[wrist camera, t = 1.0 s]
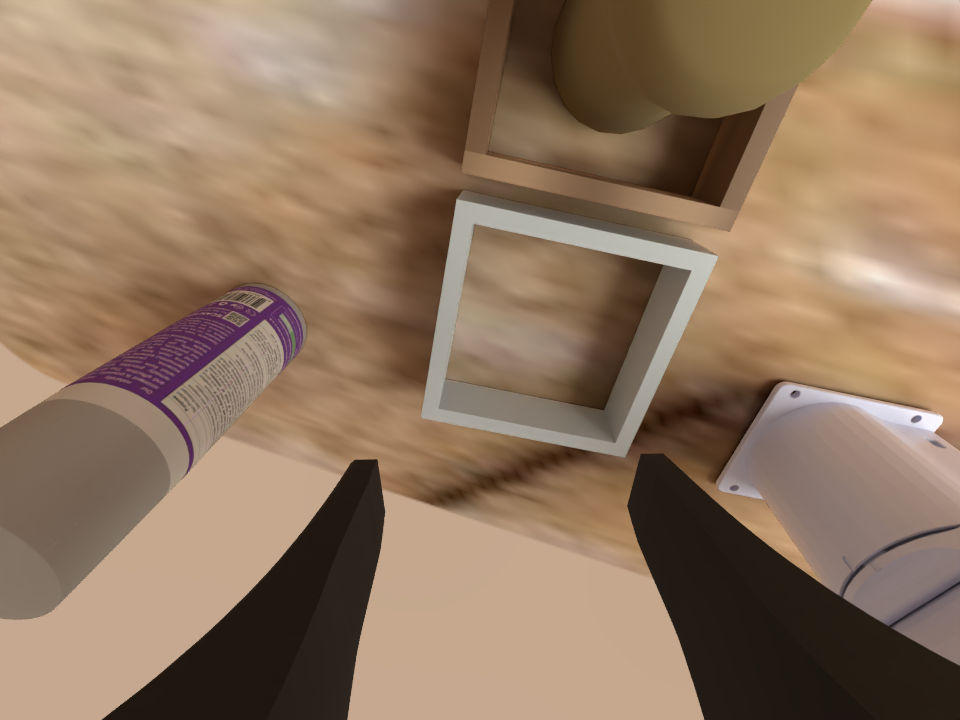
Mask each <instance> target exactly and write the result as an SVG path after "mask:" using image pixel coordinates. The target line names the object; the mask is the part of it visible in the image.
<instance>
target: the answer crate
mask: <svg viewBox="0 0 960 720" xmlns="http://www.w3.org/2000/svg"><path fill="white" fill-rule="evenodd" d="M474 224H477V225H482V226H486V227H491V228H496V229H500V230H505V231H510V232H514V233H519V234H524V235H528V236H533V237H537V238H542V239H547V240H551V241H556V242H561V243H565V244H570V245H575V246H579V247H584V248H589V249H593V250H598V251H602V252H607V253H612V254H616V255H621V256H626V257H630V258H635V259H640V260H644V261H649V262H654V263H658V264H663V267H662V270H661V272H660V275H659V277H658V279H657V282H656V284H655V287H654V289H653V292H652V294H651V297H650V299H649V302H648V304H647V306H646V309H645V311H644V314H643V316H642V319H641V321H640V324H639V326H638V328H637V331H636V333H635V336H634V338H633V341H632V343H631V346H630V348H629V351H628V353H627V355H626V358H625V360H624V363H623V365H622V368H621V370H620V373H619V375H618V377H617V380H616V382H615V385H614V387H613V390H612V392H611V395H610V397H609V400H608V402H607V404H606V407H605V409H604V410H600V409H595V408H590V407H585V406H580V405H575V404H570V403H565V402H560V401H554V400H549V399H544V398H539V397H534V396H529V395H524V394H519V393H514V392H509V391H504V390H499V389H494V388H489V387H484V386H479V385H474V384H469V383H464V382H459V381H454V380H449V379H446V374H447V368H448V363H449V358H450V352H451V347H452V342H453V336H454V331H455V326H456V320H457V315H458V310H459V304H460V299H461V294H462V288H463V283H464V278H465V272H466V267H467V262H468V256H469V251H470V246H471V240H472V235H473V230H474ZM717 259H718V255H716V254H714V253H713V252H711V251H709V250H708V249H706V248H704V247H703V246H701V245H699V244H698V243H696V242H694V241H693V240H690V239H686V238H681V237H676V236H672V235H667V234H663V233H658V232H654V231H649V230H644V229H640V228H635V227H631V226H626V225H622V224H617V223H612V222H608V221H603V220H599V219H594V218H590V217H585V216H580V215H576V214H571V213H567V212H562V211H558V210H553V209H548V208H544V207H539V206H535V205H530V204H526V203H521V202H516V201H512V200H507V199H503V198H498V197H494V196H489V195H484V194H480V193H475V192H471V191H466V190H463V191H462V192H461V194H460V195H459V197H458V198H457V200H456V206H455V212H454V219H453V225H452V231H451V237H450V243H449V249H448V255H447V261H446V267H445V274H444V280H443V286H442V292H441V298H440V304H439V310H438V316H437V322H436V329H435V335H434V341H433V347H432V353H431V359H430V365H429V371H428V377H427V384H426V390H425V396H424V402H423V408H422V414H421V418H423V419H428V420H433V421H438V422H444V423H449V424H454V425H459V426H464V427H469V428H474V429H480V430H485V431H490V432H495V433H500V434H505V435H511V436H516V437H521V438H526V439H531V440H536V441H542V442H547V443H552V444H557V445H562V446H567V447H573V448H578V449H583V450H588V451H593V452H598V453H604V454H609V455H614V456H619V457H624V458H625V456H626V454H627V452H628V450H629V448H630V446H631V443H632V441H633V439H634V437H635V435H636V433H637V430H638V428H639V426H640V424H641V422H642V420H643V418H644V415H645V413H646V411H647V409H648V407H649V405H650V403H651V400H652V398H653V396H654V394H655V392H656V390H657V388H658V385H659V383H660V381H661V379H662V377H663V375H664V372H665V370H666V368H667V366H668V364H669V362H670V360H671V357H672V355H673V353H674V351H675V349H676V347H677V345H678V342H679V340H680V338H681V336H682V334H683V332H684V330H685V327H686V325H687V323H688V321H689V319H690V317H691V314H692V312H693V310H694V308H695V306H696V304H697V302H698V299H699V297H700V295H701V293H702V291H703V289H704V287H705V284H706V282H707V280H708V278H709V276H710V274H711V272H712V269H713V267H714V265H715V263H716V261H717Z"/></svg>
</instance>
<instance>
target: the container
mask: <svg viewBox="0 0 960 720" xmlns="http://www.w3.org/2000/svg"><path fill="white" fill-rule="evenodd" d="M306 334H307V331H306V324H305V320H304V318H303V315H302V313H301V311H300V310H299V308H298V307H297V306H296V304H295V303H294V302H293V301H292V300H291V299H290V298H289V297H288V296H286V295H285V294H284V293H282V292H281V291H279V290H277V289H275V288H273V287H270V286H267V285H263V284H256V283H251V284H244V285H241V286H238V287H236V288H234V289H232V290H231V291H229V292H227V293H225V294H224V295H222V296H220V297H219V298H217V299H215V300H213V301H212V302H210V303H208V304H207V305H205V306H203V307H201V308H200V309H198V310H196V311H195V312H193V313H191V314H189V315H188V316H186V317H184V318H183V319H181V320H179V321H177V322H176V323H174V324H172V325H171V326H169V327H167V328H165V329H164V330H162V331H160V332H159V333H157V334H155V335H153V336H152V337H150V338H148V339H147V340H145V341H143V342H141V343H140V344H138V345H136V346H135V347H133V348H131V349H129V350H128V351H126V352H124V353H123V354H121V355H119V356H117V357H116V358H114V359H112V360H111V361H109V362H107V363H105V364H104V365H102V366H100V367H99V368H97V369H95V370H94V371H92V372H90V373H88V374H87V375H85V376H83V377H82V378H80V379H78V380H76V381H75V382H73V383H71V384H70V385H68V386H66V387H64V388H63V389H61V390H60V391H59V392H57V393H55V394H54V395H52V396H51V397H49V398H47V399H46V400H44V401H43V402H41V403H40V404H38V405H36V406H35V407H33V408H32V409H30V410H28V411H26V412H25V413H23V414H22V415H20V416H18V417H17V418H15V419H14V420H12V421H10V422H9V423H7V424H6V425H4V426H3V427H1V428H0V618H2V619H31V618H36V617H40V616H43V615H45V614H47V613H49V612H51V611H52V610H54V609H55V608H56V607H57V606H58V605H59V604H60V603H61V602H62V601H63V600H64V599H65V598H66V597H67V596H68V594H70V593H71V592H72V590H74V589H75V588H76V587H77V585H78V584H79V583H80V582H81V581H82V580H83V579H84V578H85V577H86V576H87V575H88V574H89V573H90V572H91V571H92V570H93V569H94V568H95V567H96V566H97V565H98V564H99V563H100V562H101V561H102V560H103V559H104V558H105V557H106V556H107V555H108V554H109V553H110V552H111V551H112V550H113V549H114V548H115V547H116V545H118V544H119V543H120V542H121V541H122V539H123V538H124V537H125V536H126V535H127V534H128V533H129V532H130V531H131V530H132V529H133V528H134V527H135V526H136V525H137V524H138V523H139V522H140V521H141V520H142V519H143V518H144V517H145V516H146V515H147V514H148V513H149V512H150V511H151V510H152V509H153V508H154V507H155V506H156V505H157V504H158V503H159V502H160V501H161V500H162V499H163V498H164V496H166V495H167V493H169V491H170V490H172V489H173V487H175V485H176V484H177V483H178V482H179V481H180V480H182V479H183V478H184V476H185V475H186V474H187V473H188V472H189V471H190V470H191V469H192V468H193V467H194V465H196V463H197V462H198V461H199V460H200V459H201V458H202V457H203V456H204V455H205V454H206V453H207V452H208V450H209V449H210V448H211V447H212V446H213V445H214V444H215V443H216V442H217V441H218V440H219V439H220V437H221V436H222V435H223V434H224V433H225V432H226V431H227V430H228V429H229V428H230V427H231V426H232V424H233V423H234V422H235V421H236V420H237V419H238V418H239V417H240V416H241V415H242V414H243V413H244V411H245V410H246V409H247V408H248V407H249V406H250V405H251V404H252V403H253V402H254V401H255V400H256V398H257V397H258V396H259V395H260V394H261V393H262V392H263V391H264V390H265V389H266V388H267V387H268V385H269V384H270V383H271V382H272V381H273V380H274V379H275V378H276V377H277V376H278V375H279V374H280V372H281V371H282V370H283V369H284V368H285V367H286V366H287V365H288V364H289V363H290V362H291V361H292V359H293V358H294V357H295V356H296V355H297V354H298V353H299V352H300V350H301V349H302V347H303V346H304V343H305V340H306Z"/></svg>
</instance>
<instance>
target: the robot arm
mask: <svg viewBox="0 0 960 720" xmlns="http://www.w3.org/2000/svg"><path fill="white" fill-rule="evenodd" d="M795 390H796V392H795V393H793V394H791V393H792V392H793V391H795ZM790 394H791V395H790ZM942 422H943V417H942V416H941V415H939V414H938V413H936V412H933V411H928V410H923V409H919V408H914V407H909V406H904V405H899V404H894V403H889V402H885V401H880V400H875V399H870V398H865V397H860V396H855V395H850V394H846V393H841V392H836V391H831V390H826V389H821V388H816V387H812V386H807V385H802V384H797V383H792V382H780V383H779V384H777V385H776V386H775V387H774V389H773V390H772V392H771V393H770V395H769V397H768V398H767V400H766V402H765V403H764V405H763V406H762V408H761V410H760V411H759V413H758V414H757V416H756V418H755V419H754V421H753V423H752V424H751V426H750V427H749V429H748V431H747V432H746V434H745V436H744V437H743V439H742V440H741V442H740V444H739V445H738V447H737V448H736V450H735V452H734V453H733V455H732V457H731V458H730V460H729V461H728V463H727V465H726V466H725V468H724V470H723V471H722V473H721V474H720V476H719V478H718V479H717V481H716V486H717V488H718V489H719V490H720V491H722V492H726V493H731V494H737V495H742V496H747V497H752V498H757V499H763V500H764V501H765V502H766V504H767V505H768V506H769V508H770V509H771V511H772V512H773V514H774V515H775V516H776V518H777V519H778V521H779V522H780V524H781V525H782V527H783V528H784V529H785V531H786V532H787V534H788V535H789V537H790V538H791V540H792V541H793V542H794V544H795V545H796V547H797V548H798V550H799V551H800V553H801V554H802V555H803V557H804V558H805V560H806V561H807V563H808V564H809V566H810V567H811V568H812V570H813V571H814V573H815V574H816V576H817V577H818V579H819V580H820V581H821V583H822V584H823V585H822V584H821V583H819V582H818V581H816V580H815V579H814V578H812V577H811V576H809V575H808V574H807V573H805V572H804V571H802V570H801V569H800V568H798V567H797V566H795V565H794V564H793V563H791V562H790V561H788V560H787V559H786V558H784V557H783V556H782V555H780V554H779V553H778V552H776V551H775V550H774V549H772V548H771V547H770V546H768V545H767V544H766V543H765V542H763V541H762V540H761V539H760V538H758V537H757V536H756V535H755V534H753V533H752V532H751V531H750V530H748V529H747V528H746V527H745V526H744V525H742V524H741V523H740V522H739V521H738V520H736V519H735V518H734V517H733V516H732V515H731V514H729V513H728V512H727V511H726V510H725V509H724V508H722V507H721V506H720V505H719V504H718V503H717V502H716V501H715V500H713V499H712V498H711V497H710V496H709V495H708V494H707V493H706V492H705V491H703V490H702V489H701V488H700V487H699V486H698V485H697V484H696V483H695V482H694V481H692V480H691V479H690V478H689V477H688V476H687V475H686V474H685V473H684V472H683V471H682V470H681V469H679V468H678V467H677V466H676V465H675V464H674V463H673V462H672V461H671V460H670V459H668V458H667V457H666V456H665V455H664V454H641V456H640V460H639V463H638V467H637V471H636V475H635V479H634V482H633V486H632V490H631V494H630V498H629V501H628V505H627V506H628V510H629V513H630V517H631V521H632V524H633V528H634V531H635V534H636V537H637V541H638V543H639V546H640V548H641V551H642V553H643V555H644V558H645V560H646V563H647V565H648V567H649V570H650V572H651V574H652V577H653V579H654V581H655V584H656V586H657V588H658V591H659V593H660V595H661V598H662V600H663V602H664V604H665V607H666V609H667V611H668V614H669V616H670V618H671V621H672V623H673V626H674V628H675V631H676V633H677V636H678V638H679V641H680V644H681V647H682V650H683V653H684V656H685V659H686V662H687V665H688V668H689V671H690V674H691V677H692V680H693V683H694V686H695V690H696V693H697V697H698V700H699V703H700V706H701V710H702V713H703V716H704V720H960V451H959V450H958V449H956V448H955V447H953V446H952V445H951V444H949V443H948V442H946V441H945V440H943V439H942V438H941V437H939V436H938V435H936V434H935V433H934V432H935V431H936V429H937V428H938V427H939V426H940V425H941V423H942ZM732 485H734V486H732ZM731 486H732V487H731ZM384 517H385V508H384V501H383V495H382V487H381V480H380V474H379V467H378V460H377V459H372V460H354V461H353V462H352V463H351V464H350V465H349V467H348V469H347V470H346V472H345V473H344V475H343V476H342V478H341V480H340V481H339V482H338V484H337V486H336V487H335V488H334V490H333V491H332V493H331V494H330V495H329V497H328V498H327V500H326V501H325V503H324V504H323V505H322V507H321V508H320V509H319V511H318V512H317V513H316V515H315V516H314V517H313V519H312V520H311V521H310V523H309V524H308V525H307V527H306V528H305V529H304V531H303V532H302V533H301V534H300V535H299V536H298V538H297V539H296V540H295V541H294V543H293V544H292V545H291V546H290V548H289V549H288V550H287V551H286V552H285V554H284V555H283V556H282V557H281V558H280V560H279V561H278V562H277V563H276V564H275V565H274V566H273V567H272V568H271V570H270V571H269V572H268V573H267V574H266V575H265V576H264V577H263V578H262V579H261V580H260V581H259V582H258V584H257V585H256V586H255V587H254V588H253V589H252V590H251V591H250V592H249V593H248V594H247V595H246V596H245V597H244V598H243V599H242V600H241V601H240V602H239V603H238V604H237V605H236V606H235V607H234V608H233V609H232V610H231V611H230V612H229V613H228V614H227V615H226V616H225V617H224V618H223V619H222V620H220V622H218V623H217V624H216V625H215V626H214V627H213V628H212V629H211V630H210V631H209V632H208V633H207V634H205V635H204V636H203V637H202V638H201V639H200V640H199V641H198V642H196V643H195V644H194V645H193V646H192V647H191V648H189V649H188V650H187V651H186V652H185V653H184V654H182V655H181V656H180V657H179V658H178V659H177V660H176V661H174V662H173V663H172V664H171V665H170V666H169V667H167V668H166V669H165V670H164V671H163V672H162V673H160V674H159V675H158V676H157V677H156V678H154V679H153V680H152V681H151V682H149V683H148V684H147V685H146V686H145V687H143V688H142V689H141V690H140V691H138V692H137V693H136V694H134V695H133V696H132V697H130V698H129V699H128V700H127V701H125V702H124V703H123V704H121V705H120V706H119V707H118V708H116V709H115V710H114V711H112V712H111V713H110V714H109V715H107V716H106V717H105V718H103V719H102V720H347V717H348V710H349V703H350V696H351V689H352V682H353V675H354V668H355V662H356V655H357V650H358V645H359V639H360V635H361V631H362V626H363V622H364V618H365V614H366V609H367V605H368V601H369V597H370V593H371V588H372V584H373V580H374V576H375V571H376V567H377V562H378V558H379V554H380V549H381V542H382V534H383V526H384Z"/></svg>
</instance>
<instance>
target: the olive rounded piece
mask: <svg viewBox="0 0 960 720" xmlns="http://www.w3.org/2000/svg"><path fill="white" fill-rule="evenodd" d="M871 1H872V0H566V1H565V4H564V6H563V9H562V11H561V13H560V16H559V18H558V21H557V23H556V25H555V32H554V39H553V46H552V52H551V57H552V66H553V74H554V82H555V84H556V87H557V89H558V91H559V94H560V96H561V98H562V101H563V103H564V105H565V106H566V107H567V108H568V109H569V110H570V112H571V113H572V114H573V115H574V116H575V117H576V118H577V119H578V120H579V122H581V123H583V124H585V125H587V126H589V127H591V128H593V129H595V130H597V131H599V132H606V133H615V134H624V133H628V132H632V131H636V130H641V129H644V128H646V127H648V126H650V125H652V124H653V123H655V122H657V121H659V120H661V119H663V118H664V117H666V116H668V115H670V114H674V115H683V116H692V117H701V118H720V117H724V116H728V115H733V114H737V113H741V112H746V111H750V110H754V109H756V108H758V107H760V106H762V105H763V104H765V103H767V102H769V101H770V100H772V99H774V98H776V97H777V96H779V95H781V94H783V93H785V92H786V91H788V90H790V89H792V88H793V87H795V86H797V85H798V84H800V83H801V82H803V81H805V80H806V79H807V78H808V77H809V76H810V75H811V74H812V73H813V72H814V71H815V70H816V69H817V68H819V67H820V66H821V65H822V64H823V63H824V62H825V61H826V60H827V59H828V58H829V57H830V56H831V55H832V54H833V53H835V52H836V51H837V50H838V49H839V48H840V47H841V45H842V44H843V43H844V41H845V40H846V38H847V37H848V35H849V34H850V32H851V31H852V29H853V28H854V27H855V25H856V24H857V22H858V21H859V19H860V18H861V16H862V15H863V14H864V12H865V11H866V9H867V8H868V6H869V5H870V3H871Z"/></svg>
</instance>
